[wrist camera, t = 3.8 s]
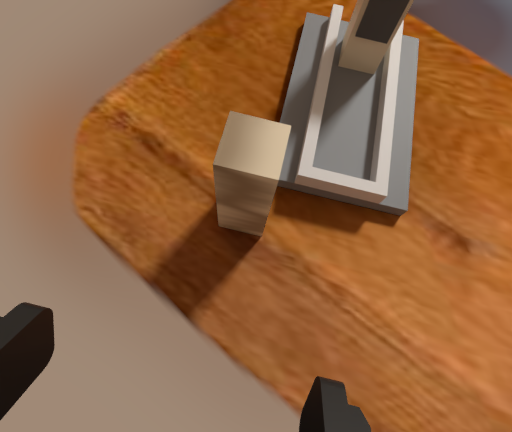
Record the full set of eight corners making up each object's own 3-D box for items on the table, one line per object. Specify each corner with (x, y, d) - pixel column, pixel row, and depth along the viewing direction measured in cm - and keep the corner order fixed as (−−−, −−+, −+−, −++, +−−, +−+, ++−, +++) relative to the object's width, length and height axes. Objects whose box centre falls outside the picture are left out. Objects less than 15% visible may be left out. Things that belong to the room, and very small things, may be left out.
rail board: (413, 48, 36) (488, -74, 25) (400, 215, 28) (499, 142, 18) (304, 22, 36) (335, -109, 25) (264, 182, 29) (285, 91, 18)
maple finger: (271, 193, 28) (292, 120, 19) (261, 236, 27) (278, 180, 18) (231, 183, 28) (232, 105, 19) (218, 225, 27) (212, 164, 18)
